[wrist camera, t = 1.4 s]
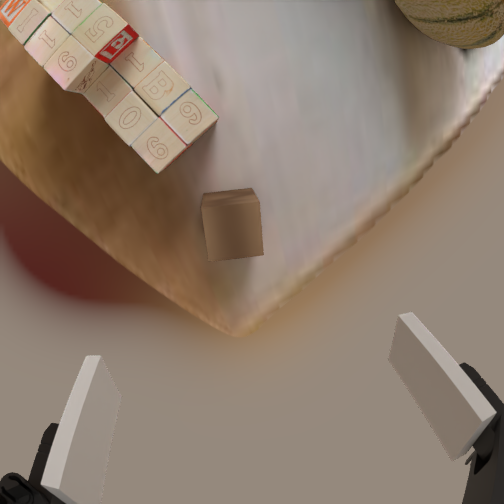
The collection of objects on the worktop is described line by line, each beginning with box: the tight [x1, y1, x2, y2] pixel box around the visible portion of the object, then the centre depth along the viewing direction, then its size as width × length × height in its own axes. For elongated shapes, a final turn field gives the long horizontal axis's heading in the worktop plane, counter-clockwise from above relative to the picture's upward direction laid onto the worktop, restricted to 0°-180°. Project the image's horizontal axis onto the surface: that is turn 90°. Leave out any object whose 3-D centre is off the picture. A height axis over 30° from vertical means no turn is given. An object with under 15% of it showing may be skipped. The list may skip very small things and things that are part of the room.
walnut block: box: [201, 188, 264, 262], centre depth 30 cm, size 5×5×6 cm
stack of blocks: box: [0, 0, 219, 174], centre depth 20 cm, size 21×6×12 cm, turn 40°
